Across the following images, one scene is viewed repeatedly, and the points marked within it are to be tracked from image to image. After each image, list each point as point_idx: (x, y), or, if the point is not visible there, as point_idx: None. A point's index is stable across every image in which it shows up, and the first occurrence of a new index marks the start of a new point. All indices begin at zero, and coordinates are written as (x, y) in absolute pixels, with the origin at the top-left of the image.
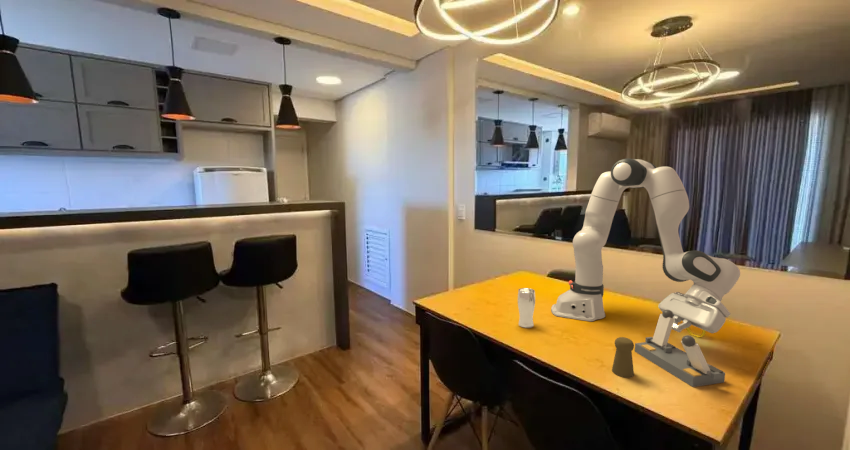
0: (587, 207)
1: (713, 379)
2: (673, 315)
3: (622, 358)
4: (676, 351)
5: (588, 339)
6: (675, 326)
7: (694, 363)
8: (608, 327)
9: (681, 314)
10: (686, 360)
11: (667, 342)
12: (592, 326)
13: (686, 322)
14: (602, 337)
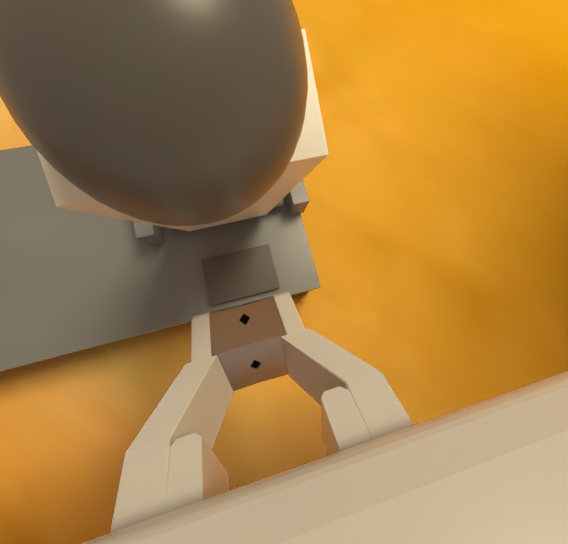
0: None
1: None
2: (62, 174)
3: None
4: (161, 281)
5: (383, 5)
6: (234, 323)
7: None
8: (532, 154)
9: (294, 541)
10: (35, 267)
11: (181, 229)
12: (531, 86)
13: (122, 471)
14: (411, 73)
